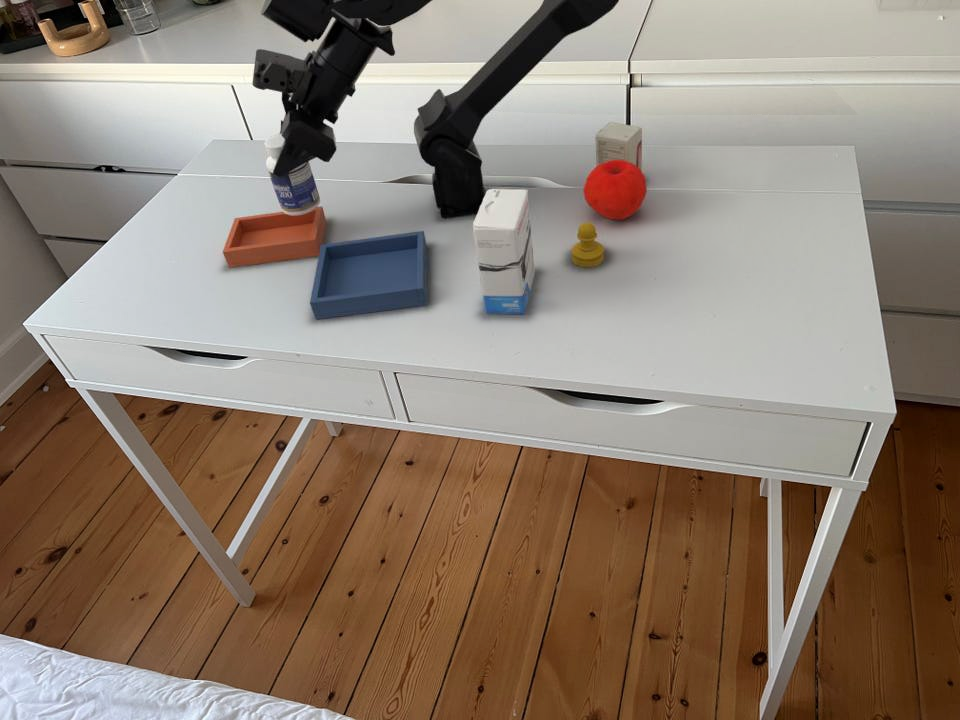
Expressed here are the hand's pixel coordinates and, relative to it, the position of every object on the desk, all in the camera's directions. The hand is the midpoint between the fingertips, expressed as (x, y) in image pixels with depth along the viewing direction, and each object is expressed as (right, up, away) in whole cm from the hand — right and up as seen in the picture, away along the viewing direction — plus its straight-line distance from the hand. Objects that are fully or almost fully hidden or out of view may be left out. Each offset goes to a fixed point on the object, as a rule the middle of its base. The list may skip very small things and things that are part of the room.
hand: (276, 164), depth 100 cm
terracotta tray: (-2, -9, +7) cm, 12 cm away
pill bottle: (+2, -5, +5) cm, 7 cm away
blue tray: (+13, -15, -3) cm, 20 cm away
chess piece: (+40, -13, -5) cm, 42 cm away
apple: (+44, -6, +2) cm, 45 cm away
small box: (+46, -1, +8) cm, 47 cm away
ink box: (+30, -17, -8) cm, 36 cm away
